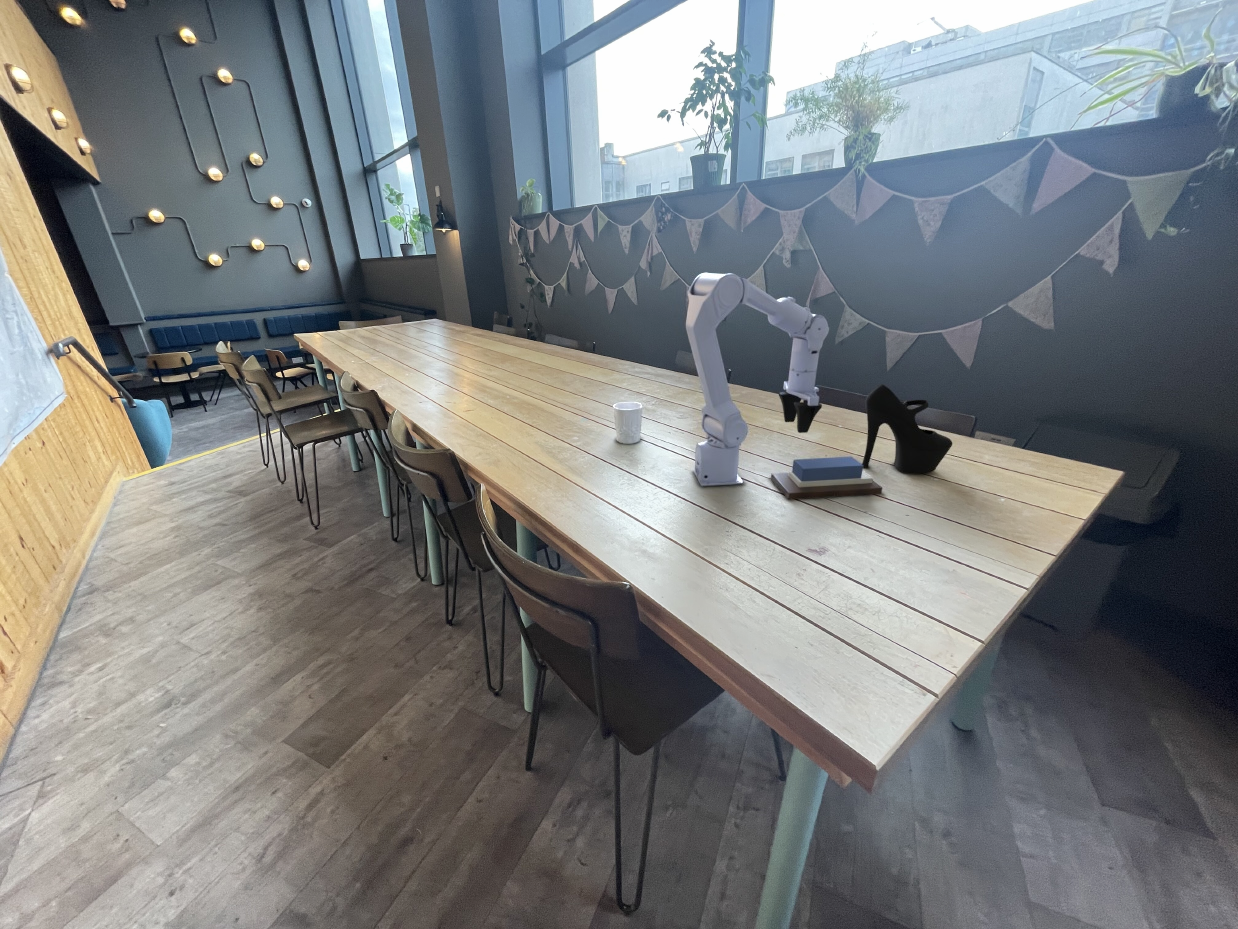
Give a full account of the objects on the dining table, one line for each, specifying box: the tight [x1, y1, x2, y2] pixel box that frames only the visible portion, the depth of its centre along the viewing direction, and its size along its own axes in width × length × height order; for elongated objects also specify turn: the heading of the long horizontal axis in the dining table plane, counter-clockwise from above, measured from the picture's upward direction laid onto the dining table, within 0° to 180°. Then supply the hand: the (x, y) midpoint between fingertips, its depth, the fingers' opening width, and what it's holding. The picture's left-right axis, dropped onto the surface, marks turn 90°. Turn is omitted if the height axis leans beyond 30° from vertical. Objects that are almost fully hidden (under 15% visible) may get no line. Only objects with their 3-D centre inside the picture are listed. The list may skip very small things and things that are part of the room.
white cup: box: [612, 401, 643, 445], centre depth 131 cm, size 8×8×10 cm
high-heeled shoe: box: [861, 383, 953, 475], centre depth 106 cm, size 8×19×20 cm, turn 79°
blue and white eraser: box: [788, 456, 874, 487], centre depth 101 cm, size 16×6×4 cm, turn 94°
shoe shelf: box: [770, 471, 883, 500], centre depth 102 cm, size 20×10×2 cm, turn 94°
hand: (795, 426), depth 111 cm, fingers open, 7 cm apart
